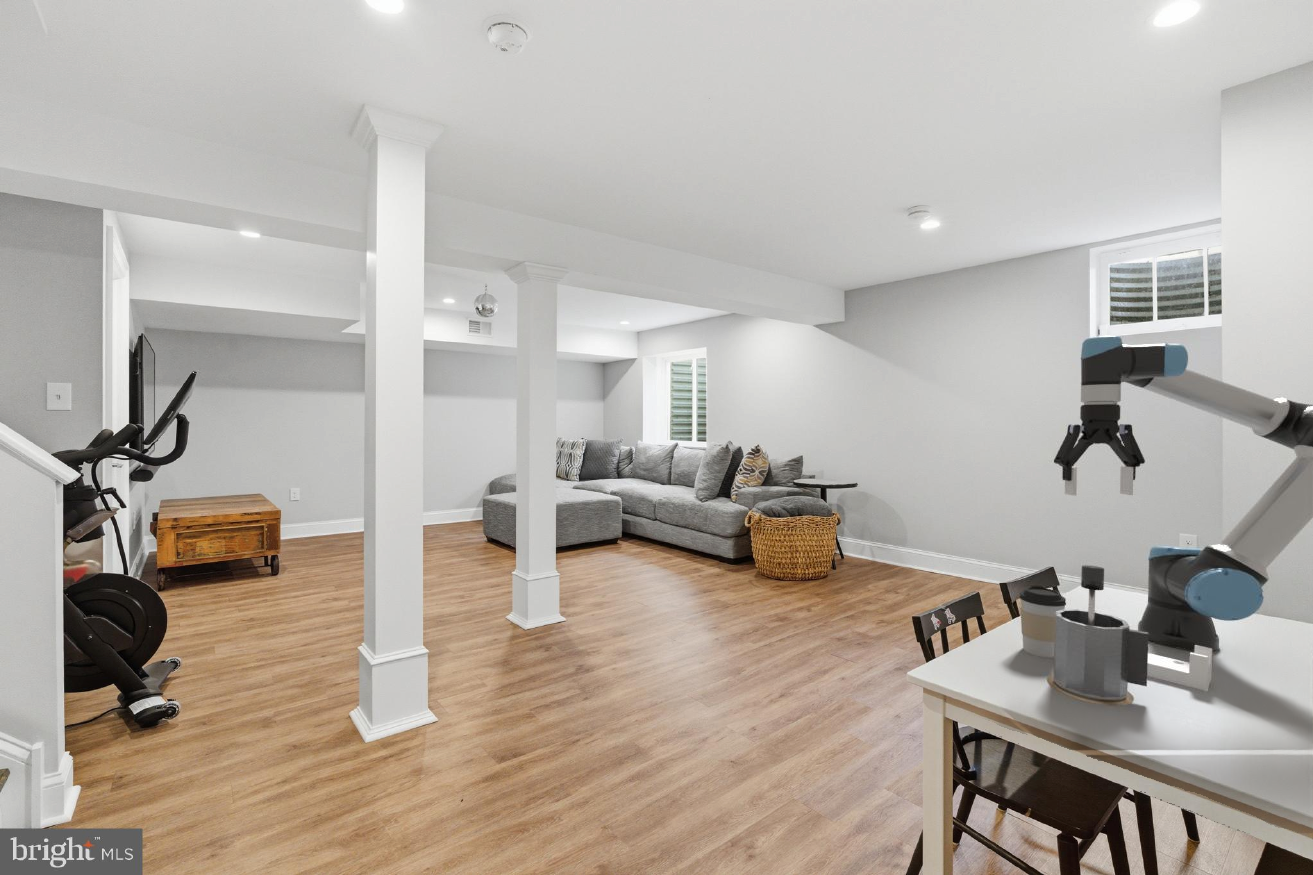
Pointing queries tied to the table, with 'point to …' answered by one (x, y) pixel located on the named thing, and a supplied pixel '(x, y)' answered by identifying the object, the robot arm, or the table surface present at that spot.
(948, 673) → the table surface
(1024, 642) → the coffee cup
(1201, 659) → the bracket
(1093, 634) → the grey hollow faceted piece
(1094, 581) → the plunger
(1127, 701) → the trivet
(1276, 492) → the robot arm
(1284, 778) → the table surface
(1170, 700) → the table surface
